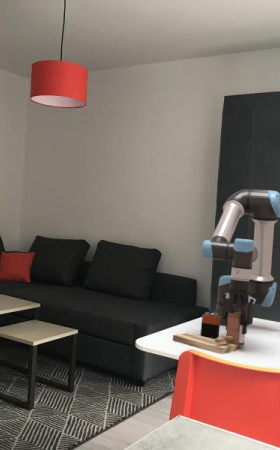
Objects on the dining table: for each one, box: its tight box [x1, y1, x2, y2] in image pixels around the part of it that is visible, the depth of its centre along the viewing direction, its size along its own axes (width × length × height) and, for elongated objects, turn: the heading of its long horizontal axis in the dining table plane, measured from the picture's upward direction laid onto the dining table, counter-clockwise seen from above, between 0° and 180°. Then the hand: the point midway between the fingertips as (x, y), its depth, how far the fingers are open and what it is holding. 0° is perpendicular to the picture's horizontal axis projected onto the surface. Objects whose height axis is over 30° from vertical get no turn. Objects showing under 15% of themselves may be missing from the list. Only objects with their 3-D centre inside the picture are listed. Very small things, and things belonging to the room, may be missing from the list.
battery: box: [200, 311, 221, 339], centre depth 209 cm, size 4×7×10 cm, turn 68°
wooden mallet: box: [215, 312, 246, 348], centre depth 190 cm, size 16×4×12 cm, turn 139°
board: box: [172, 332, 238, 355], centre depth 192 cm, size 10×22×2 cm, turn 49°
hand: (235, 340), depth 194 cm, fingers closed on wooden mallet, 4 cm apart
